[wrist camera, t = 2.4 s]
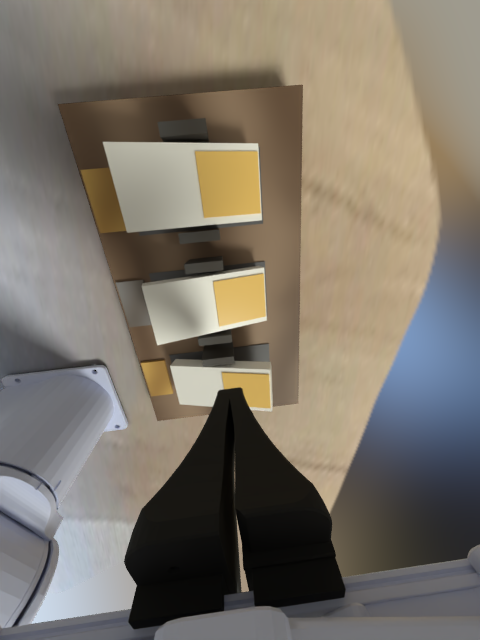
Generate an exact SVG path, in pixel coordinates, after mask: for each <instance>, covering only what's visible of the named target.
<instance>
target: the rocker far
mask: <svg viewBox="0 0 480 640" xmlns="http://www.w3.org/2000/svg"><path fill="white" fill-rule="evenodd" d="M234 362H235V363H232V364H224V365H215V366H207V367H203V365H202V360H192V359H175V360H174V362H173V363H172V364H171V365H170V368H171V372H172V376H173V380H174V384H175V388H176V392H177V396H178V399H179V403H180V404H182V405H195V406H208V407H213V405H214V402H215V399H216V396H217V393H218V391H219V390H223V389H231V388H238V387H241V388H242V389H243V393H244V396H245V399H246V401H247V404H248V406H249V408H250V410H260V411H272V407H273V394H272V371H271V362H257V361H234Z"/></svg>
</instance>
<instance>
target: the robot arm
mask: <svg viewBox="0 0 480 640" xmlns="http://www.w3.org/2000/svg"><path fill="white" fill-rule="evenodd" d="M94 370H96V371H97V372H96V371H94ZM1 382H2V384H3V385H4V387H5V388H4V389H3V390H1V391H0V640H480V545H478V546H476V547H474V548H472V549H471V550H470V552H469V554H468V559H462V560H455V561H448V562H441V563H435V564H428V565H422V566H415V567H408V568H401V569H395V570H388V571H381V572H375V573H368V574H362V575H355V576H348V577H342V576H341V574H340V571H339V568H338V565H337V562H336V559H335V556H336V554H335V550H334V547H333V544H332V541H331V531H332V520H331V517H330V514H329V512H328V510H327V508H326V506H325V504H324V502H323V500H322V498H321V496H320V495H319V493H318V491H317V490H316V488H315V487H314V485H313V484H312V483H311V482H310V481H309V480H308V479H307V478H305V477H304V476H303V475H302V474H301V473H300V472H299V471H298V470H297V469H296V468H295V467H294V466H293V465H292V464H291V463H290V462H289V461H288V460H287V459H286V458H285V457H284V456H283V455H282V453H281V452H280V451H279V450H278V449H277V448H276V447H275V445H274V444H273V443H272V442H271V440H270V439H269V438H268V436H267V435H266V434H265V432H264V431H263V429H262V428H261V426H260V425H259V423H258V422H257V420H256V419H255V417H254V415H253V413H252V411H251V410H250V408H249V406H248V404H247V401H246V399H245V396H244V393H243V389H242V388H241V387H238V388H231V389H223V390H219V391H218V393H217V396H216V399H215V402H214V405H213V407H212V410H211V412H210V414H209V417H208V419H207V421H206V423H205V425H204V427H203V429H202V431H201V433H200V435H199V436H198V438H197V440H196V442H195V443H194V445H193V446H192V448H191V450H190V451H189V453H188V454H187V456H186V457H185V458H184V460H183V461H182V463H181V464H180V465H179V467H178V468H177V469H176V471H175V472H174V473H173V474H172V476H171V477H170V478H169V479H168V481H167V482H166V483H165V484H164V486H163V487H162V488H161V489H160V490H159V491H158V492H157V493H156V494H155V496H154V497H153V498H152V499H151V500H150V501H149V502H148V503H147V504H146V505H145V506H144V507H143V508H142V510H141V512H140V515H139V517H138V519H137V522H136V525H135V527H134V529H133V532H132V535H131V539H130V542H129V545H128V549H127V552H126V555H125V560H124V563H125V566H126V568H127V570H128V572H129V573H130V575H131V576H132V578H133V580H134V581H135V583H136V584H137V587H136V592H135V596H134V600H133V604H132V608H131V609H128V610H121V611H115V612H109V613H101V614H95V615H88V616H82V617H76V618H68V619H61V620H55V621H48V622H41V623H35V624H31V623H32V621H33V619H34V617H35V616H36V614H37V612H38V610H39V608H40V607H41V605H42V603H43V600H44V598H45V596H46V594H47V592H48V589H49V587H50V584H51V581H52V578H53V576H54V573H55V570H56V566H57V562H58V556H59V546H58V543H57V541H56V540H55V539H54V538H53V537H54V535H55V533H56V531H57V529H58V528H59V526H60V524H61V522H62V520H63V517H62V516H61V515H59V513H58V512H57V509H58V508H59V506H60V504H61V503H62V501H63V499H64V498H65V496H66V494H67V493H68V491H69V489H70V487H71V486H72V484H73V482H74V481H75V479H76V477H77V476H78V474H79V472H80V471H81V469H82V467H83V465H84V464H85V462H86V460H87V459H88V457H89V455H90V454H91V452H92V450H93V449H94V447H95V445H96V443H97V442H98V440H99V438H100V437H101V435H102V433H103V432H105V431H113V430H121V429H125V428H127V426H128V421H127V419H126V416H125V414H124V411H123V408H122V406H121V403H120V401H119V398H118V396H117V393H116V390H115V388H114V385H113V383H112V380H111V377H110V375H109V372H108V370H107V368H106V367H105V366H104V365H94V366H85V367H76V368H68V369H59V370H50V371H42V372H33V373H24V374H16V375H7V376H5V377H4V378H2V379H1ZM234 471H235V482H234ZM236 515H237V519H236ZM237 520H238V525H239V530H240V535H241V540H242V552H243V567H244V570H245V574H246V579H247V583H248V588H249V591H248V592H241V579H240V565H239V552H238V551H239V550H238V535H237Z"/></svg>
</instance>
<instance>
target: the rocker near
mask: <svg viewBox="0 0 480 640" xmlns="http://www.w3.org/2000/svg"><path fill="white" fill-rule="evenodd" d="M103 145H104V149H105V152H106V156H107V160H108V164H109V167H110V171H111V175H112V178H113V182H114V186H115V190H116V193H117V197H118V201H119V204H120V208H121V212H122V216H123V219H124V223H125V227H126V231H127V233H131V232H142V231H153V230H164V229H175V228H186V227H197V226H208V225H219V224H229V223H240V222H251V221H260V220H262V211H261V190H260V169H259V148H258V143H172V142H103Z"/></svg>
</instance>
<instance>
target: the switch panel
mask: <svg viewBox="0 0 480 640" xmlns="http://www.w3.org/2000/svg"><path fill="white" fill-rule="evenodd" d="M302 101H303V85H293V86H281V87H268V88H255V89H243V90H230V91H218V92H205V93H192V94H180V95H167V96H155V97H142V98H129V99H117V100H104V101H92V102H79V103H66V104H58V106H59V109H60V113H61V116H62V119H63V122H64V125H65V128H66V132H67V135H68V138H69V141H70V144H71V148H72V151H73V154H74V157H75V160H76V163H77V167H78V170H79V173H80V176H81V179H82V182H83V186H84V189H85V192H86V195H87V198H88V201H89V205H90V208H91V211H92V214H93V217H94V220H95V224H96V227H97V230H98V233H99V236H100V239H101V243H102V246H103V249H104V252H105V255H106V258H107V262H108V265H109V268H110V271H111V274H112V278H113V281H114V284H115V287H116V290H117V293H118V297H119V300H120V303H121V306H122V309H123V312H124V316H125V319H126V322H127V325H128V328H129V331H130V335H131V338H132V341H133V344H134V347H135V350H136V354H137V357H138V360H139V363H140V366H141V369H142V373H143V376H144V379H145V382H146V385H147V388H148V392H149V395H150V398H151V401H152V404H153V408H154V411H155V414H156V417H157V420H158V421H161V420H169V419H177V418H185V417H193V416H201V415H209V414H210V412H211V410H212V407H208V406H195V405H182V404H180V403H179V399H178V396H177V392H176V388H175V384H174V380H173V376H172V372H171V368H170V365H171V364H172V363H173V362H174V360H175V359H192V360H202V365H203V367H207V366H215V365H224V364H232V363H235V362H234V361H257V362H271V371H272V394H273V406H281V405H289V404H298V385H299V314H300V243H301V172H302ZM103 142H172V143H258V148H259V169H260V190H261V211H262V220H260V221H251V222H240V223H229V224H219V225H208V226H197V227H186V228H175V229H164V230H153V231H142V232H131V233H127V231H126V227H125V223H124V219H123V216H122V212H121V208H120V204H119V201H118V197H117V193H116V190H115V186H114V182H113V178H112V175H111V171H110V167H109V164H108V160H107V156H106V152H105V149H104V145H103ZM254 266H261V267H264V273H265V294H266V315H267V321H263V322H258V323H254V324H249V325H245V326H241V327H236V328H232V329H227V330H223V331H219V332H214V333H210V334H205V335H201V336H197V337H192V338H188V339H183V340H179V341H174V342H170V343H166V344H161V345H157V342H156V339H155V335H154V331H153V327H152V324H151V320H150V316H149V312H148V309H147V305H146V301H145V298H144V294H143V290H142V284H143V283H148V282H155V281H161V280H168V279H175V278H181V277H188V276H194V275H201V274H208V273H214V272H221V271H227V270H234V269H241V268H247V267H254Z"/></svg>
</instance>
